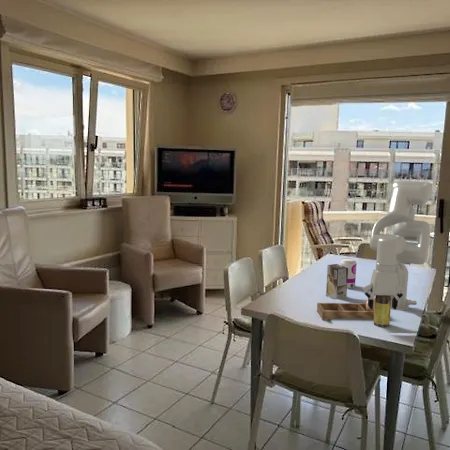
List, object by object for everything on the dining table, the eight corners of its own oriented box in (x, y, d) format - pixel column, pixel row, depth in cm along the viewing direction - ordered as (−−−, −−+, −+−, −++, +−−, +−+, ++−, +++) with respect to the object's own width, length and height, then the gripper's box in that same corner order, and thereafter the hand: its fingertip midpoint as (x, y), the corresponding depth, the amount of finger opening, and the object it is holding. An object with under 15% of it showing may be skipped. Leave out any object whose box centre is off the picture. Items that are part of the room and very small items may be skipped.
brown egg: (375, 312, 194) (376, 295, 193) (379, 316, 189) (380, 299, 188) (364, 312, 194) (365, 295, 193) (367, 316, 189) (368, 298, 188)
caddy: (378, 312, 197) (378, 303, 196) (387, 321, 186) (387, 312, 186) (316, 311, 197) (317, 302, 196) (322, 320, 186) (322, 311, 185)
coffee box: (347, 299, 214) (349, 267, 212) (336, 300, 212) (338, 269, 209) (335, 293, 223) (337, 263, 220) (325, 295, 220) (326, 264, 218)
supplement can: (357, 286, 236) (359, 259, 234) (350, 289, 230) (352, 262, 228) (344, 283, 242) (345, 257, 240) (336, 286, 236) (338, 259, 234)
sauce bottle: (391, 329, 177) (395, 282, 174) (376, 329, 176) (380, 282, 173) (385, 323, 183) (388, 278, 180) (370, 323, 183) (374, 278, 180)
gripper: (402, 266, 180) (399, 305, 182) (361, 265, 179) (358, 304, 182) (410, 270, 172) (407, 311, 175) (367, 269, 172) (364, 310, 174)
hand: (382, 308), depth 178 cm, fingers open, 9 cm apart
